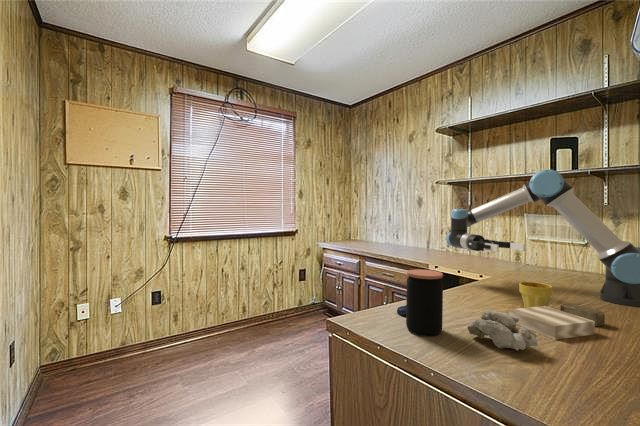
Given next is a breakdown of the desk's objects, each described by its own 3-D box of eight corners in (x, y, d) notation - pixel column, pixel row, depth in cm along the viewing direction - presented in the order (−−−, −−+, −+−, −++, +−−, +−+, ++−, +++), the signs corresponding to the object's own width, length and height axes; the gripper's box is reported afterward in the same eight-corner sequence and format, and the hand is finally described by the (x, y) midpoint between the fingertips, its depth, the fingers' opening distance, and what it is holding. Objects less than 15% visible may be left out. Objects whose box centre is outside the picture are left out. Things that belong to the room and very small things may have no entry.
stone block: (597, 328, 103) (597, 313, 103) (557, 317, 113) (557, 303, 113) (606, 325, 106) (606, 310, 106) (566, 315, 116) (566, 301, 116)
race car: (401, 320, 109) (401, 307, 110) (390, 314, 116) (390, 302, 116) (436, 315, 115) (436, 303, 115) (424, 310, 121) (424, 298, 121)
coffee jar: (441, 326, 103) (442, 270, 103) (442, 339, 93) (443, 277, 92) (407, 322, 106) (407, 268, 106) (404, 334, 96) (405, 274, 96)
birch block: (544, 317, 113) (544, 305, 113) (594, 334, 98) (594, 321, 98) (508, 321, 109) (508, 309, 109) (554, 339, 93) (555, 326, 93)
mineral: (525, 355, 77) (536, 316, 80) (457, 330, 91) (468, 297, 94) (539, 366, 85) (548, 330, 87) (474, 341, 98) (483, 310, 101)
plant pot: (521, 312, 118) (522, 286, 118) (516, 304, 128) (516, 280, 128) (555, 316, 114) (556, 289, 114) (547, 308, 124) (547, 283, 124)
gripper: (494, 249, 155) (534, 256, 135) (450, 250, 148) (486, 257, 128) (494, 234, 155) (535, 238, 134) (450, 234, 148) (486, 239, 127)
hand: (511, 247), depth 131 cm, fingers open, 13 cm apart
